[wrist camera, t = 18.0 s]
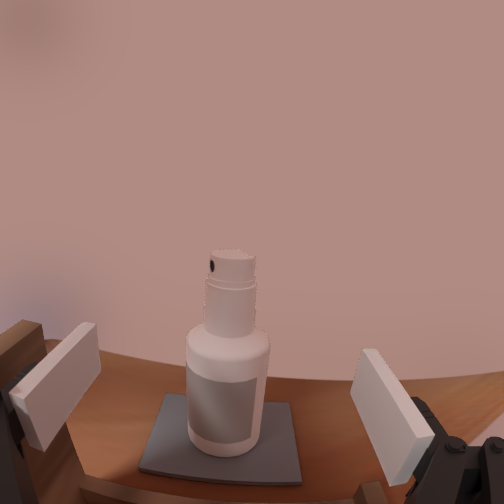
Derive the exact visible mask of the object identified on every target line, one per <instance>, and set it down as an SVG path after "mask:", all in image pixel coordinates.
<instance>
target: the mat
mask: <svg viewBox="0 0 504 504" xmlns="http://www.w3.org/2000/svg"><path fill="white" fill-rule="evenodd" d="M138 468H139V471H141V472H146V473H151V474H156V475H161V476H167V477H173V478H180V479H187V480H194V481H203V482H212V483H224V484H238V485H263V486H290V485H301V484H302V477H301V471H300V464H299V458H298V452H297V446H296V440H295V434H294V427H293V421H292V415H291V409H290V403H289V402H263V410H262V418H261V425H260V433H259V438H258V440H257V443H256V445H255V446H254V447H253V448H251V449H250V450H249V451H248V452H246V453H244V454H241V455H239V456H234V457H216V456H213V455H209V454H206V453H204V452H203V451H201V450H200V449H198V448H197V447H196V446H195V445H194V444H193V442H192V441H191V440H190V436H189V433H188V415H187V395H181V394H174V393H166V395H165V397H164V400H163V402H162V405H161V408H160V410H159V413H158V416H157V418H156V421H155V424H154V426H153V429H152V432H151V434H150V437H149V440H148V442H147V445H146V448H145V451H144V453H143V456H142V459H141V461H140V464H139V467H138Z"/></svg>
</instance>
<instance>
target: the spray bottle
mask: <svg viewBox="0 0 504 504" xmlns="http://www.w3.org/2000/svg"><path fill="white" fill-rule="evenodd" d="M255 264H256V257H252V256H249V255H247V254H246V253H245V252H244V251H242V250H236V249H219V250H214V251H212V252H211V253H210V266H209V274H208V279H207V280H206V289H205V306H204V318H203V323H201V324H199V325H197V326H195V327H194V328H193V329H191V330H190V331H189V332H188V335H187V338H186V388H187V415H188V433H189V436H190V440H191V441H192V442H193V444H194V445H195V446H196V447H197V448H198V449H200V450H201V451H203V452H204V453H206V454H209V455H213V456H216V457H234V456H239V455H241V454H244V453H246V452H248V451H249V450H250V449H251V448H253V447H254V446H255V445H256V443H257V440H258V438H259V433H260V425H261V418H262V410H263V402H264V394H265V386H266V378H267V369H268V361H269V352H270V343H269V337H268V336H267V335H266V334H265V333H264V332H263V331H262V330H261V329H259V328H258V327H256V326H255V314H256V310H255V302H256V290H257V283H256V282H255Z"/></svg>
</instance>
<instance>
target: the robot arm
mask: <svg viewBox="0 0 504 504" xmlns="http://www.w3.org/2000/svg"><path fill="white" fill-rule="evenodd" d="M101 370H102V368H101V362H100V354H99V347H98V338H97V329H96V324H92V323H86V322H82V323H81V324H80V325H79V326H78V327H77V328H76V329H75V330H74V331H73V332H71V333H70V334H69V335H68V336H67V337H66V338H65V339H64V340H63V341H62V342H61V343H60V344H58V345H57V346H56V347H55V348H54V349H53V350H52V351H51V352H50V353H49V354H48V355H47V356H46V357H45V358H44V359H43V360H42V361H41V362H39V363H38V362H34V363H31V364H29V365H27V366H26V367H25V368H23V369H22V370H21V371H20V373H18V374H17V375H16V376H15V378H13V379H12V380H11V381H10V382H9V383H8V384H7V385H6V386H5V387H4V388H2V389H1V390H0V504H39V502H38V499H37V496H36V492H35V489H34V486H33V482H32V479H31V475H30V472H29V468H28V464H27V460H26V456H25V451H24V447H23V445H22V443H21V441H22V439H23V438H24V437H26V439H27V441H28V443H29V446H31V447H33V448H36V449H38V450H41V451H43V452H45V451H46V449H47V448H48V446H49V445H50V443H51V442H52V440H53V439H54V437H55V436H56V434H57V433H58V431H59V430H60V428H61V427H62V425H63V424H64V423H65V421H66V420H67V418H68V417H69V415H70V414H71V412H72V411H73V410H74V408H75V407H76V405H77V404H78V402H79V401H80V400H81V398H82V397H83V395H84V394H85V393H86V391H87V390H88V388H89V387H90V386H91V384H92V383H93V382H94V380H95V379H96V377H97V376H98V375H99V373H100V372H101ZM350 395H351V397H352V399H353V401H354V404H355V406H356V408H357V411H358V413H359V415H360V417H361V420H362V422H363V424H364V427H365V429H366V431H367V434H368V436H369V438H370V441H371V443H372V445H373V448H374V450H375V452H376V455H377V457H378V460H379V462H380V464H381V467H382V469H383V471H384V474H385V476H386V479H387V481H388V484H389V486H395V485H400V484H405V483H407V482H408V480H409V479H410V477H411V476H412V474H413V475H414V477H415V479H416V481H415V483H414V484H413V486H412V487H411V489H410V490H409V492H408V493H407V494H406V497H407V498H406V500H405V502H404V504H504V439H502V438H500V437H490V438H487V439H486V441H485V442H484V444H483V445H482V446H474V447H473V446H467V444H466V442H464V441H463V440H462V439H460V438H458V437H454V436H448V434H447V433H446V431H445V430H444V428H443V427H442V426H441V424H440V423H439V421H438V420H437V418H436V417H435V416H434V414H433V413H432V411H430V409H429V407H428V406H427V404H426V403H425V402H424V401H422V400H421V399H419V398H418V397H409V395H408V394H407V392H406V391H405V389H404V388H403V386H402V385H401V383H400V382H399V381H398V379H397V378H396V376H395V375H394V373H393V372H392V370H391V369H390V368H389V366H388V365H387V363H386V362H385V360H384V359H383V358H382V356H381V355H380V353H379V352H378V351H377V349H376V348H365V349H364V348H362V351H361V355H360V358H359V362H358V366H357V370H356V373H355V377H354V380H353V384H352V387H351V391H350Z"/></svg>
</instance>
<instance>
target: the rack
mask: <svg viewBox="0 0 504 504" xmlns="http://www.w3.org/2000/svg"><path fill="white" fill-rule="evenodd" d="M46 356H47V351H46V346H45V341H44V336H43V330H42V325H41V324H39V323H35V322H31V321H26V320H21V321H20V322H18V323H17V324H15V325H14V326H12V327H11V328H9V329H8V330H7V331H5V332H4V333H2V334H1V335H0V390H1V389H2V388H4V387H5V386H6V385H7V384H8V383H9V382H10V381H11V380H12V379H13V378H15V376H16V375H17V374H18V373H20V371H21V370H22V369H23V368H25V367H26V366H27V365H29V364H31V363H34V362H38V363H39V362H41V361H42V360H43V359H44V358H45V357H46ZM21 443H22V445H23V447H24V451H25V456H26V460H27V464H28V468H29V472H30V475H31V479H32V482H33V486H34V489H35V492H36V496H37V499H38V502H39V504H389V503H388V501H387V498H386V496H385V493H384V490H383V488H382V485H381V483H380V481H373V482H367V483H361V484H360V486H359V488H358V489H357V491H356V493H355V495H354V497H353V498H348V499H340V500H330V501H318V502H301V503H245V502H228V501H216V500H206V499H197V498H189V497H182V496H175V495H169V494H164V493H158V492H153V491H148V490H143V489H139V488H134V487H130V486H126V485H122V484H118V483H114V482H110V481H107V480H103V479H100V478H96V477H93V476H90V475H86V474H85V473H84V470H83V468H82V465H81V463H80V461H79V458H78V456H77V453H76V450H75V448H74V445H73V442H72V440H71V437H70V434H69V431H68V428H67V425H66V422H65V423H64V424H63V425H62V427H61V428H60V430H59V431H58V433H57V434H56V436H55V437H54V439H53V440H52V442H51V443H50V445H49V446H48V448H47V449H46V451H45V452H43V451H41V450H38V449H36V448H33V447H31V446H29V443H28V441H27V439H26V437H24V438H23V439H22V441H21Z"/></svg>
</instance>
